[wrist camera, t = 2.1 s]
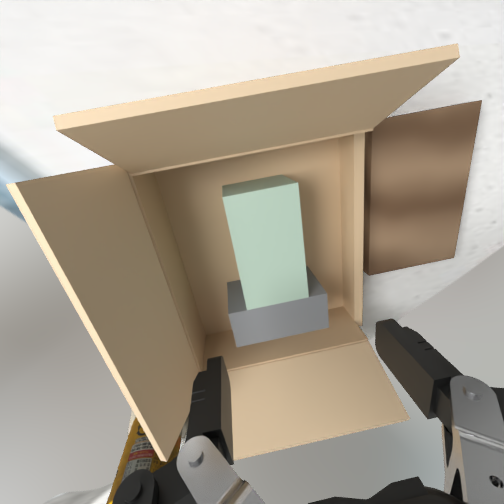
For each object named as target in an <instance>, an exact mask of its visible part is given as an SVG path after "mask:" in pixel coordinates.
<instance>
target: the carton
mask: <svg viewBox="0 0 504 504" xmlns="http://www.w3.org/2000/svg"><path fill="white" fill-rule="evenodd" d="M458 58H460V56H459V48H458V44H452V45H447V46H441V47H435V48H430V49H424V50H419V51H413V52H408V53H402V54H396V55H391V56H385V57H380V58H374V59H368V60H363V61H357V62H352V63H346V64H341V65H335V66H329V67H324V68H318V69H313V70H307V71H301V72H296V73H290V74H285V75H279V76H274V77H268V78H262V79H257V80H251V81H246V82H240V83H234V84H229V85H223V86H218V87H212V88H207V89H201V90H195V91H190V92H184V93H179V94H173V95H167V96H162V97H156V98H151V99H145V100H140V101H134V102H128V103H123V104H117V105H112V106H106V107H100V108H95V109H89V110H84V111H78V112H73V113H67V114H61V115H56V116H53V119H54V123H55V127H56V130H57V131H58V132H60V133H62V134H64V135H65V136H67V137H69V138H70V139H72V140H74V141H76V142H77V143H79V144H81V145H82V146H84V147H86V148H88V149H89V150H91V151H93V152H94V153H96V154H98V155H100V156H101V157H103V158H105V159H107V160H108V161H110V162H112V163H113V164H115V165H109V166H104V167H99V168H93V169H88V170H82V171H77V172H71V173H66V174H61V175H55V176H50V177H44V178H39V179H33V180H28V181H22V182H17V183H12V184H6V186H7V188H8V189H9V191H10V193H11V195H12V196H13V198H14V200H15V202H16V204H17V205H18V207H19V209H20V211H21V212H22V214H23V216H24V218H25V220H26V221H27V223H28V225H29V227H30V229H31V230H32V232H33V234H34V236H35V237H36V239H37V241H38V243H39V245H40V246H41V248H42V250H43V252H44V253H45V255H46V257H47V259H48V261H49V262H50V264H51V266H52V268H53V270H54V271H55V273H56V275H57V276H58V278H59V280H60V282H61V284H62V285H63V287H64V289H65V291H66V293H67V294H68V296H69V298H70V300H71V302H72V303H73V305H74V307H75V309H76V311H77V312H78V314H79V316H80V317H81V319H82V321H83V323H84V325H85V326H86V328H87V330H88V332H89V334H90V335H91V337H92V339H93V341H94V343H95V344H96V346H97V348H98V350H99V351H100V353H101V355H102V357H103V358H104V360H105V362H106V364H107V366H108V367H109V369H110V371H111V373H112V375H113V376H114V378H115V380H116V382H117V384H118V385H119V387H120V389H121V391H122V392H123V394H124V396H125V398H126V399H127V401H128V403H129V405H130V407H131V409H132V410H133V412H134V414H135V416H136V417H137V419H138V421H139V423H140V425H141V426H142V428H143V430H144V432H145V433H146V435H147V437H148V439H149V441H150V442H151V444H152V446H153V448H154V450H155V451H156V453H157V455H158V457H159V458H160V460H161V461H165V462H167V461H168V459H169V457H170V454H171V452H172V450H173V448H174V445H175V443H176V441H177V439H178V437H179V434H180V432H181V430H182V428H183V426H184V423H185V421H186V419H187V417H188V414H189V412H190V404H191V396H192V388H193V382H194V380H195V378H196V376H197V374H198V372H202V371H206V370H207V359H208V358H213V357H217V356H223V358H224V362H225V365H226V369H227V372H228V375H229V380H230V386H231V407H232V433H233V459H234V460H239V459H243V458H247V457H252V456H256V455H260V454H265V453H269V452H273V451H278V450H282V449H286V448H290V447H294V446H299V445H303V444H308V443H312V442H316V441H320V440H325V439H329V438H334V437H338V436H342V435H347V434H351V433H355V432H360V431H364V430H368V429H373V428H377V427H381V426H385V425H389V424H394V423H399V422H403V421H407V420H409V419H410V417H409V416H408V414H407V412H406V410H405V409H404V407H403V405H402V402H401V401H400V399H399V397H398V395H397V393H396V391H395V390H394V388H393V386H392V384H391V382H390V380H389V378H388V376H387V374H386V373H385V371H384V369H383V367H382V365H381V363H380V361H379V360H378V358H377V356H376V354H375V352H374V350H373V348H372V346H371V345H370V343H369V341H368V338H367V337H366V335H365V334H364V333H363V331H362V330H361V329H360V328H359V326H362V312H363V230H364V148H365V132H368V131H373V128H374V127H375V126H377V125H378V124H379V123H380V122H381V121H383V120H384V119H385V118H386V117H388V116H389V115H390V114H391V113H392V112H394V111H395V110H396V109H397V108H399V107H400V106H401V105H402V104H403V103H405V102H406V101H407V100H408V99H410V98H411V97H412V96H413V95H414V94H416V93H417V92H418V91H419V90H420V89H422V88H423V87H424V86H425V85H427V84H428V83H429V82H430V81H431V80H433V79H434V78H435V77H436V76H438V75H439V74H440V73H441V72H442V71H444V70H445V69H446V68H447V67H449V66H450V65H451V64H452V63H453V62H455V61H456V60H457V59H458ZM281 174H282V175H284V176H286V177H288V178H290V179H292V180H294V181H296V182H298V186H299V197H300V208H301V218H302V229H303V240H304V251H305V262H306V266H308V267H309V269H310V270H311V271H312V273H313V274H314V276H315V277H316V278H317V280H318V281H319V283H320V284H321V285H322V287H323V288H324V290H325V291H326V292H327V300H328V317H329V328H325V329H320V330H316V331H311V332H306V333H302V334H297V335H292V336H288V337H283V338H278V339H274V340H269V341H265V342H260V343H255V344H251V345H246V346H241V347H237V346H236V342H235V338H234V334H233V330H232V326H231V323H230V319H229V315H228V293H227V282H231V281H236V280H240V276H239V271H238V267H237V262H236V257H235V253H234V248H233V244H232V239H231V235H230V230H229V225H228V221H227V216H226V212H225V207H224V203H223V198H222V186H224V185H229V184H234V183H239V182H244V181H250V180H255V179H260V178H265V177H270V176H276V175H281Z"/></svg>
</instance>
